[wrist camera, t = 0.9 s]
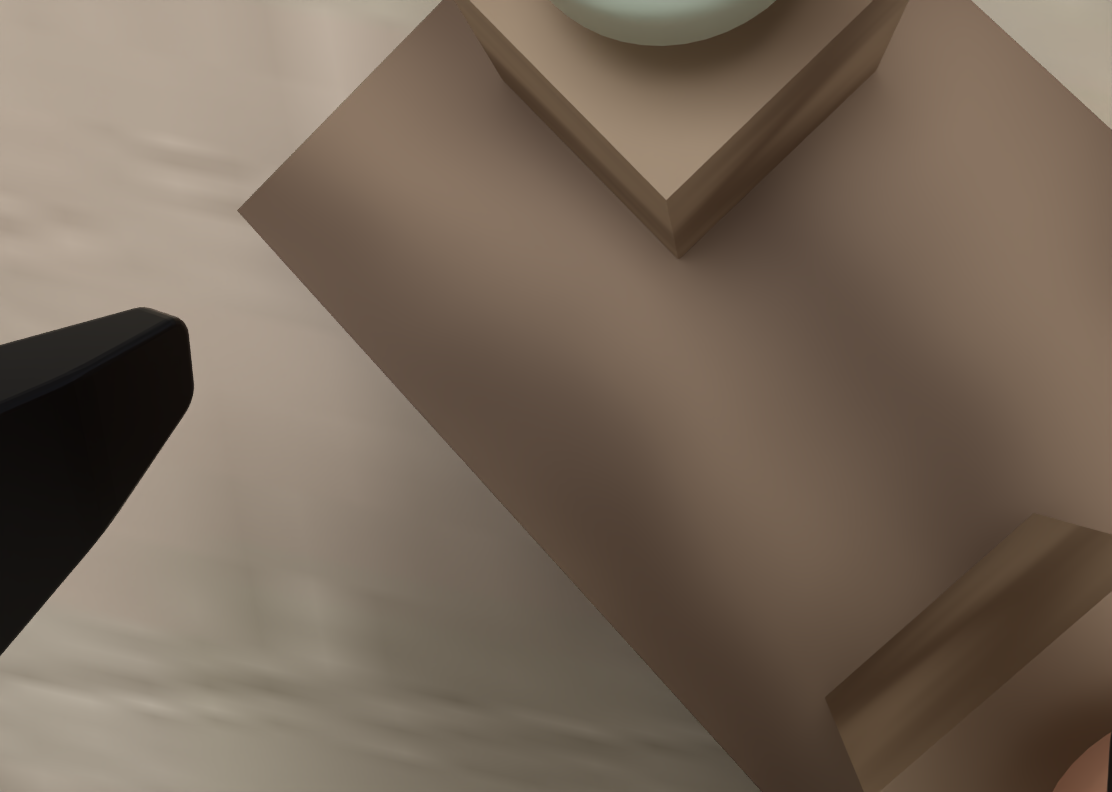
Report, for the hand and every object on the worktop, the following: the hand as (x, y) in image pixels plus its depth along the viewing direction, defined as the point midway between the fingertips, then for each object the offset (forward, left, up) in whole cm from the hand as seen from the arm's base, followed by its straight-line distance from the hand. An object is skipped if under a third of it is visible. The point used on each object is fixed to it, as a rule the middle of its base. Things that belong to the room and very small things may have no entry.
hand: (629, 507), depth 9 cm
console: (+4, -1, -13) cm, 14 cm away
